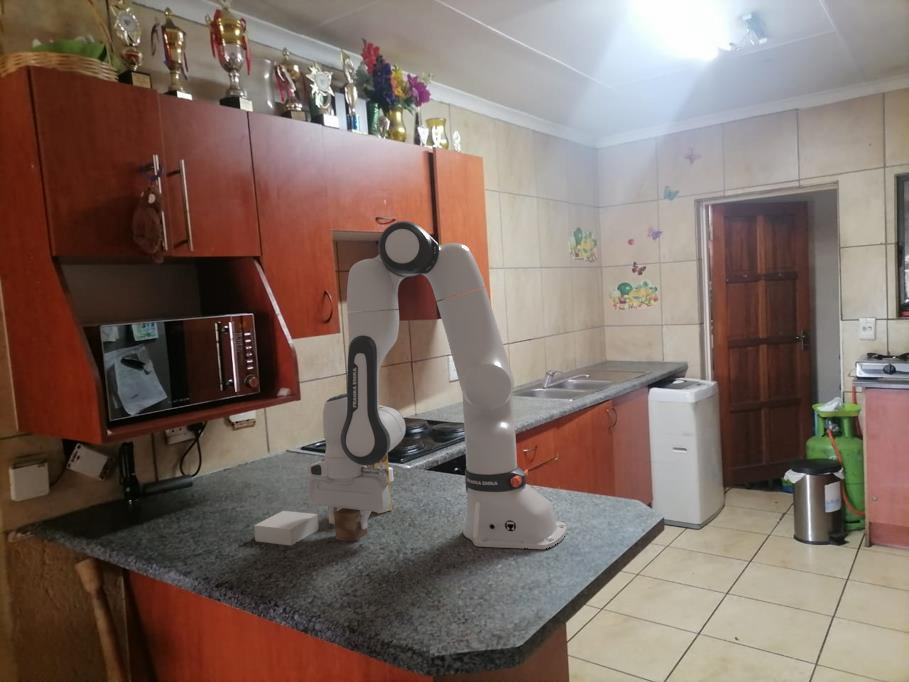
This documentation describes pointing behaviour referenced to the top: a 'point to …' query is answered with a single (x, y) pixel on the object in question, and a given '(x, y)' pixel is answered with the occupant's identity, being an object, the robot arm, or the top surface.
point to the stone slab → (286, 527)
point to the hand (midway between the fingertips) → (351, 526)
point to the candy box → (385, 468)
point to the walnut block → (348, 524)
